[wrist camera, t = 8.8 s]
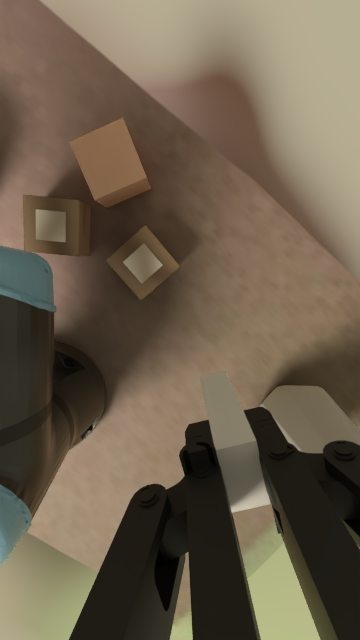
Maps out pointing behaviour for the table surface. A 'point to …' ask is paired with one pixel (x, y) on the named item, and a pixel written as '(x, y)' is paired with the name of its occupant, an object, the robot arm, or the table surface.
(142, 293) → the walnut block
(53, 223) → the walnut block
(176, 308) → the table surface
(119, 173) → the plain block
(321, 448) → the vase
